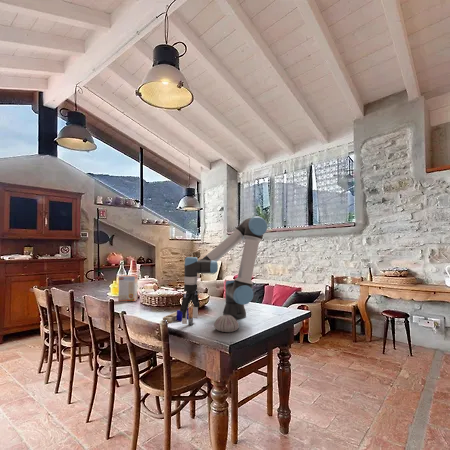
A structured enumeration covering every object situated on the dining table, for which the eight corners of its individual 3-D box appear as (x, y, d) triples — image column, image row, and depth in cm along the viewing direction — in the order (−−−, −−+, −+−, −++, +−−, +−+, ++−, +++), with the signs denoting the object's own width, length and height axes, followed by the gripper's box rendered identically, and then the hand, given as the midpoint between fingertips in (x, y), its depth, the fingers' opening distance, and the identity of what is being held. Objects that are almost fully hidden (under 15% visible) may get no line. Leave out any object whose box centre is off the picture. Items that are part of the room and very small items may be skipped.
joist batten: (186, 315, 192) (186, 311, 192) (170, 323, 173) (170, 318, 173) (179, 315, 194) (179, 310, 194) (162, 322, 175) (162, 317, 175)
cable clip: (182, 321, 178) (182, 311, 178) (176, 320, 180) (176, 310, 181) (194, 317, 188) (194, 307, 188) (189, 316, 190) (189, 307, 191)
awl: (193, 324, 170) (193, 307, 171) (191, 325, 168) (191, 308, 169) (189, 324, 171) (189, 306, 172) (187, 325, 169) (187, 307, 169)
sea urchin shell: (225, 325, 169) (225, 311, 170) (244, 329, 160) (243, 314, 161) (209, 330, 159) (209, 315, 160) (227, 335, 150) (227, 319, 151)
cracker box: (137, 300, 244) (137, 275, 246) (134, 302, 238) (134, 276, 240) (121, 300, 246) (122, 275, 247) (118, 301, 240) (118, 275, 241)
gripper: (186, 286, 158) (185, 327, 157) (205, 281, 181) (205, 316, 180) (174, 286, 161) (173, 325, 159) (194, 281, 184) (194, 315, 183)
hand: (190, 320), depth 170 cm, fingers open, 13 cm apart
